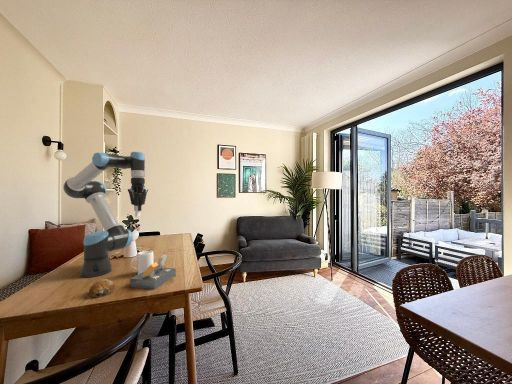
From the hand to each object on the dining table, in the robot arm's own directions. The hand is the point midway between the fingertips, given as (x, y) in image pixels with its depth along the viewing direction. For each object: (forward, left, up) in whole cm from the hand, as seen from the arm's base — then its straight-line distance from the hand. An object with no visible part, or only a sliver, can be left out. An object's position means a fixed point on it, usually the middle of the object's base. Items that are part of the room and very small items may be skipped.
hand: (137, 216), depth 136 cm
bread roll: (+6, -31, -33) cm, 45 cm away
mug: (+7, -5, -33) cm, 34 cm away
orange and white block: (+20, -18, -27) cm, 38 cm away
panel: (+21, -13, -32) cm, 41 cm away
